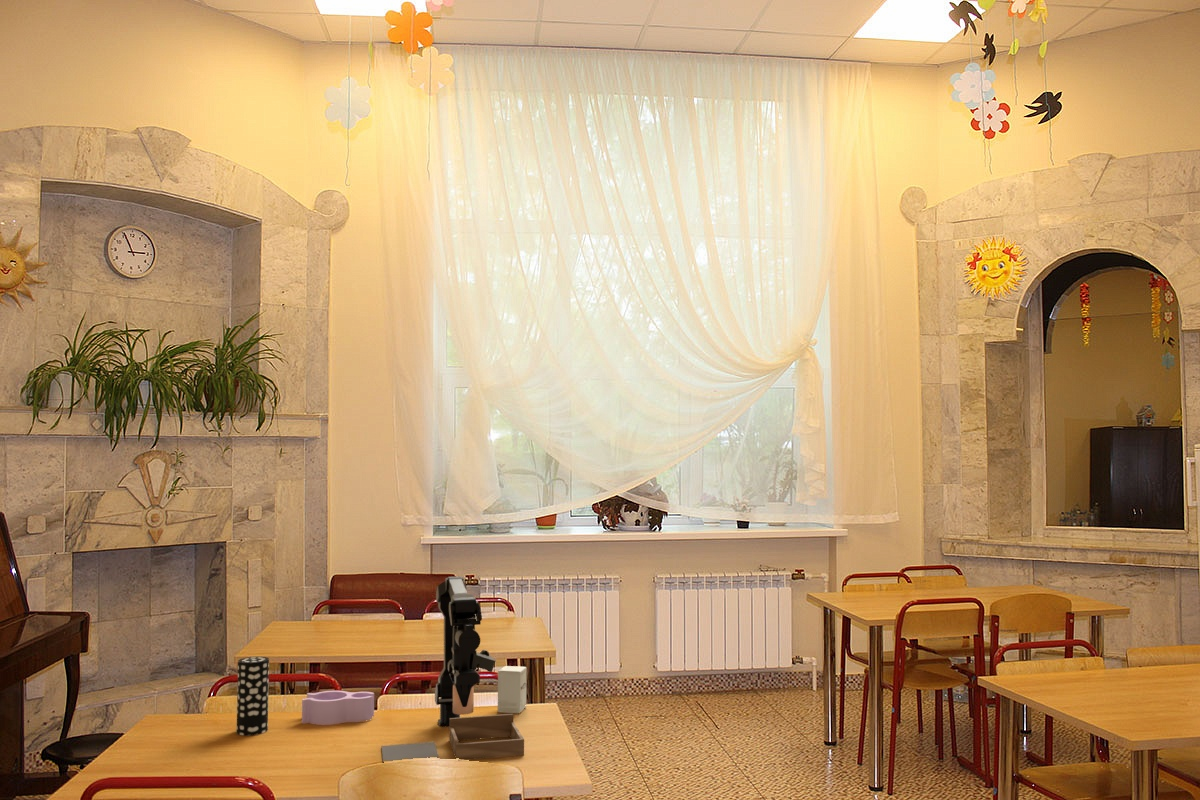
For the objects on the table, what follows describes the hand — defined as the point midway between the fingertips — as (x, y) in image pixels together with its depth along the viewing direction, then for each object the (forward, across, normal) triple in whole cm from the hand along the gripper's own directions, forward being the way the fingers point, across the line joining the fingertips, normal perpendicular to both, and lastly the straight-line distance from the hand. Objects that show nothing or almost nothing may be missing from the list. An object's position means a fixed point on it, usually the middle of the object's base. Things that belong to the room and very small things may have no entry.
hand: (463, 703), depth 251 cm
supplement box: (+12, +35, -20) cm, 42 cm away
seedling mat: (+12, 0, +14) cm, 18 cm away
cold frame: (+12, 0, -6) cm, 13 cm away
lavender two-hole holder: (+12, +40, +31) cm, 52 cm away
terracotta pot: (+2, 0, 0) cm, 2 cm away
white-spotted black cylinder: (+12, +33, +55) cm, 65 cm away
